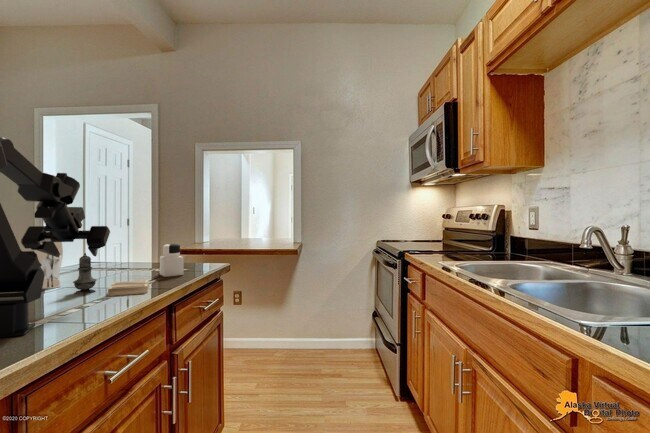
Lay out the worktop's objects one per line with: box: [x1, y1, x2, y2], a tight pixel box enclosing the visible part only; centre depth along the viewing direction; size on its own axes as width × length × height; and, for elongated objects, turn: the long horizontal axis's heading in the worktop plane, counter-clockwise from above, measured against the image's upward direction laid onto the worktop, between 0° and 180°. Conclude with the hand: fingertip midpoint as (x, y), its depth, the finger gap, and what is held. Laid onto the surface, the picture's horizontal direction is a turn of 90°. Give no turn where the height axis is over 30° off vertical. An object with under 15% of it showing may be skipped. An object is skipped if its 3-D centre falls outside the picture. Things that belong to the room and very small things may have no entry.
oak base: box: [107, 279, 150, 297], centre depth 103 cm, size 10×10×2 cm
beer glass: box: [34, 242, 64, 290], centre depth 107 cm, size 7×7×15 cm
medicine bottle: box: [159, 243, 185, 278], centre depth 131 cm, size 7×7×12 cm
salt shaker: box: [72, 252, 98, 296], centre depth 101 cm, size 6×6×12 cm
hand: (77, 255), depth 96 cm, fingers open, 9 cm apart
